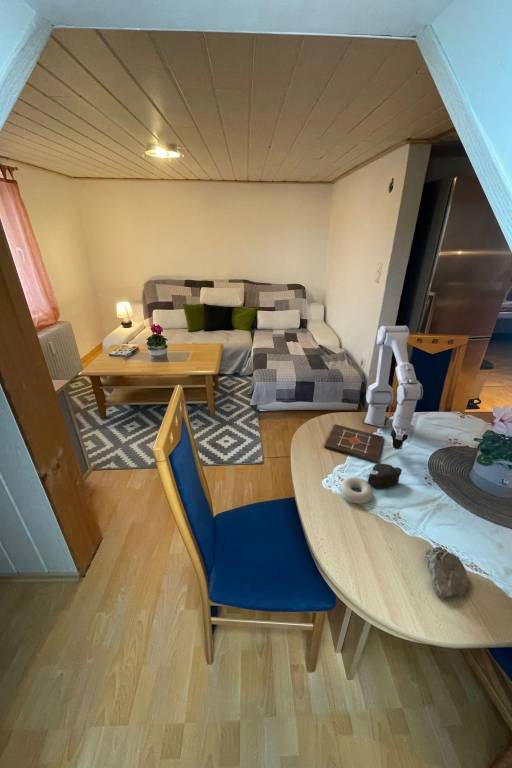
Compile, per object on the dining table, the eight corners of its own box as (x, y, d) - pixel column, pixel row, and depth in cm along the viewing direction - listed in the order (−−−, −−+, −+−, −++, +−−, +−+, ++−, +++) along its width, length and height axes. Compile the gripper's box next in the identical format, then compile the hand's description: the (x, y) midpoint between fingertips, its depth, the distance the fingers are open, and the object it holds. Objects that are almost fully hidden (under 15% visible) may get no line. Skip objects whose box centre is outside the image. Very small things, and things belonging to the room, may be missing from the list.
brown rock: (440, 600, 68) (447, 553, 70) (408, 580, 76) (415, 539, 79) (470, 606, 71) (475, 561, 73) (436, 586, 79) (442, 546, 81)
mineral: (394, 498, 96) (397, 485, 94) (365, 487, 101) (367, 474, 98) (399, 479, 104) (403, 466, 101) (372, 469, 108) (375, 456, 106)
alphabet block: (393, 450, 112) (395, 443, 111) (389, 444, 115) (391, 438, 114) (401, 449, 112) (403, 443, 111) (397, 444, 115) (399, 437, 114)
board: (334, 426, 132) (335, 424, 131) (383, 438, 123) (383, 436, 123) (324, 447, 119) (324, 444, 119) (377, 463, 111) (378, 460, 110)
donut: (343, 479, 104) (336, 499, 96) (344, 471, 103) (338, 491, 95) (373, 488, 100) (369, 510, 92) (375, 480, 99) (371, 502, 91)
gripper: (415, 427, 99) (406, 459, 106) (417, 406, 111) (409, 436, 117) (392, 422, 102) (385, 453, 109) (396, 402, 114) (390, 431, 120)
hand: (396, 444), depth 113 cm, fingers closed on alphabet block, 4 cm apart
